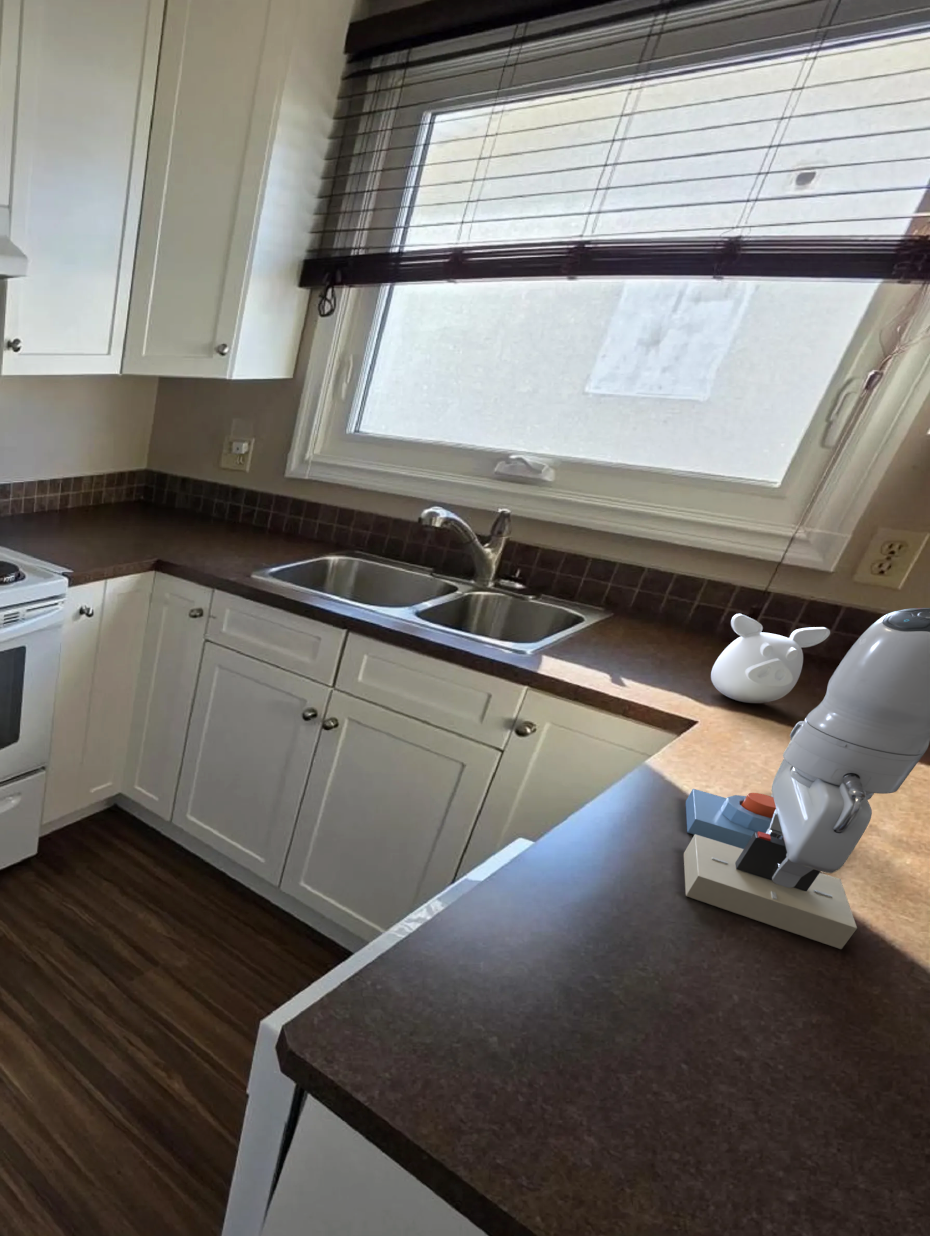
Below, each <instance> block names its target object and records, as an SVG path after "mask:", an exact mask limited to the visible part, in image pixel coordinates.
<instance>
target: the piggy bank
mask: <svg viewBox="0 0 930 1236" xmlns="http://www.w3.org/2000/svg"><path fill="white" fill-rule="evenodd" d="M730 626H731V629H732V630H733V632H734V633H736V634H737V635H738V636H739V637H737V638H736V639H734V640H733V641H732V642H730V644H728V645H727V646H726V647H725V648H724V650H723V651H722V652H721V653H720V654H719V656H718V657H717V659H716V660H715V662H714V664H713V665H712V668H711V672H710V680H711V683H712V685H713V686H714V688H715V689H716V690H717V691H718V692H719V693H721V694H722V695H724V696H725V697H727V698H729V699H730V700H731V699H732V700H733V701H734V700H735V701H737V702H740V703H741V702H742V703H747V704H765V703H766V704H767V703H771V702H775V701H777V700H780V699H782V698H784V697H785V696H787V695H788V694H789V693H790V692H791V691H792V690H793V689H794V687H795V686H796V685H797V684H798V683H797V682H798V681H799V678H800V677H801V673H802V670H803V664H804V652H803V649H802V648H810V647H814V646H816V645H818V644H821V643H822V642H824V641H826V640H827V639H828V638H829V637H830V635H831V630H830V629H829V628H828V627H825V626H816V627H815V626H813V627H802V628H798V629H795V630H793V631H792V632H791V633H790V635H789V637H787V636H783V635H780V634H776V633H770V632H764V631H763V629H764V627H763V625H762V623H761V622H759V621H757V620H756V619H754V618H751V617H749V616H747V615H745V614H742V613H736V614H734V615H733V616H732V617H731V620H730ZM762 631H763V632H762Z"/></svg>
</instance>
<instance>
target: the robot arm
mask: <svg viewBox="0 0 930 1236" xmlns="http://www.w3.org/2000/svg"><path fill="white" fill-rule="evenodd" d="M824 695H825V696H824V697H823V699H822V701H820V703H819V704H818V705H817V706H815V707H814V708H813V709H812V710H811V711H809V713H808V714H806V717H805V718H804V720H800V721H798V722H797V723H796V724H795V725H794V727H792V728H793V729H792V730H791V731H790V733H789V739H790V740H789V743H788V745H787V747H786V748H785V750H784V751H783V753H782V758H783V759H782V761H781V763H780V765H779V767H778V769H777V771H776V773H775V776H774V778H773V781H772V784H771V789H770V791H771V795H772V794H773V798H774V802H775V806H776V809H775V811H774V814H773V817H772V820H771V823H770V827H769V828H768V830H767V831H766V834H770V836H771V837H774V838H778V839H781V840H784V842H785V846H786V850H787V854H786V858H785V860H784V861H783V862H782V863H781V864H779V863H778V864H777V866H776V867H775V869H774V871H773V872H772V880H773V882H774V883H775V884H778V885H781V886H784V887H787V888H792V887H794V886H795V885H796V884H797V882H798V881H799V880H800V878H801V877H802V876H804V875H805V874H807V873H809V872H810V871H812V870H813V869H815V870H818V871H821V873H824V874H834V873H836V872H837V871H839V870H841V868H842V867H843V866H844V865H845V864H846V862H847V861H848V859H849V857H851V854H852V853H853V851H854V850H855V848H856V847H857V845H858V843H859V841H860V840H861V839H862V837H863V835H864V833H865V831H866V830H867V828H868V826H869V825H870V822H871V820H872V816H873V810H872V807H871V804H870V802H869V800H871V799H872V797H873V796H874V794H877V795H878V794H879V795H887V794H893V793H896V792H898V790H900V788H901V787H902V785H903V783H904V782H905V781H906V779H907V778H908V777H909V775H910V774H911V772H912V771H913V770H914V769H915V767H916V766H917V764H918V763H919V762H920V760H921V759H922V757H923V756H924V754H925V753H926V752H927V750H928V749H929V745H930V607H914V608H913V607H911V608H905V609H900V610H895V611H890V612H888V613H886V614H885V615H882V616H881V617H880V618H879V619H877V620H876V621H875V622H874V623H872V624H871V625H870V626H869V627H868V628H867V629H866V630H865V631H864V632H863V633H862V634H861V635H860V636H859V637H858V639H857V640H856V641H855V642H854V643H853V645H851V647H850V649H849V650H848V651H847V652H846V654H845V655H844V657H843V658H842V660H841V661H840V663H839V665H838V666H837V667H836V669H835V670H834V672H833V673H832V675H831V676H830V678H829V680H828V683H827V687H826V693H825V694H824Z"/></svg>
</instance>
